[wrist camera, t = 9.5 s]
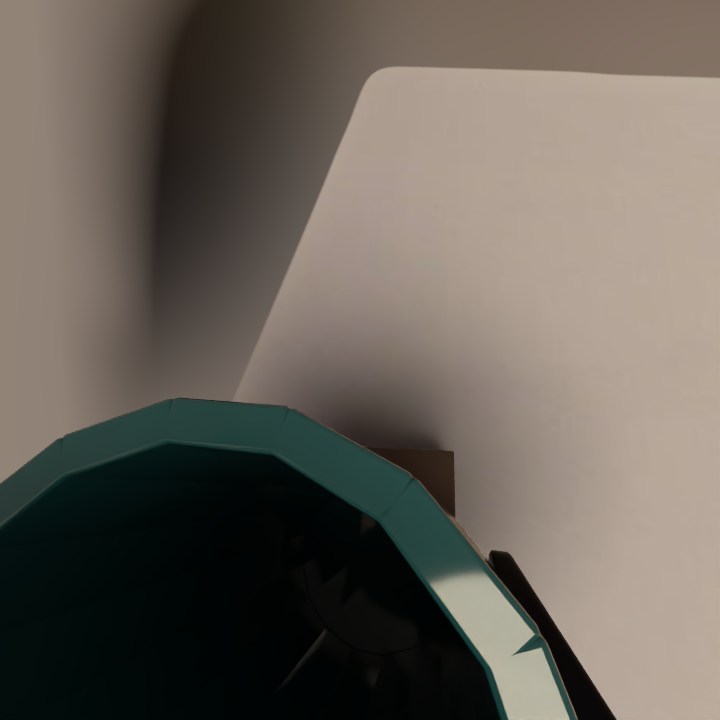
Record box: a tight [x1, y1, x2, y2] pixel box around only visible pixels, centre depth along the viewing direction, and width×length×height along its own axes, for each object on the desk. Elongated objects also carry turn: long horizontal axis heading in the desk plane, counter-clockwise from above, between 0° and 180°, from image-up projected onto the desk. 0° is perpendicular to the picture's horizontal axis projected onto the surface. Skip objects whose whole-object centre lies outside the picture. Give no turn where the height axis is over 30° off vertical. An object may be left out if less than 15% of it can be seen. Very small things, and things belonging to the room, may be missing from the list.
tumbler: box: [0, 398, 578, 720], centre depth 8 cm, size 7×7×13 cm
